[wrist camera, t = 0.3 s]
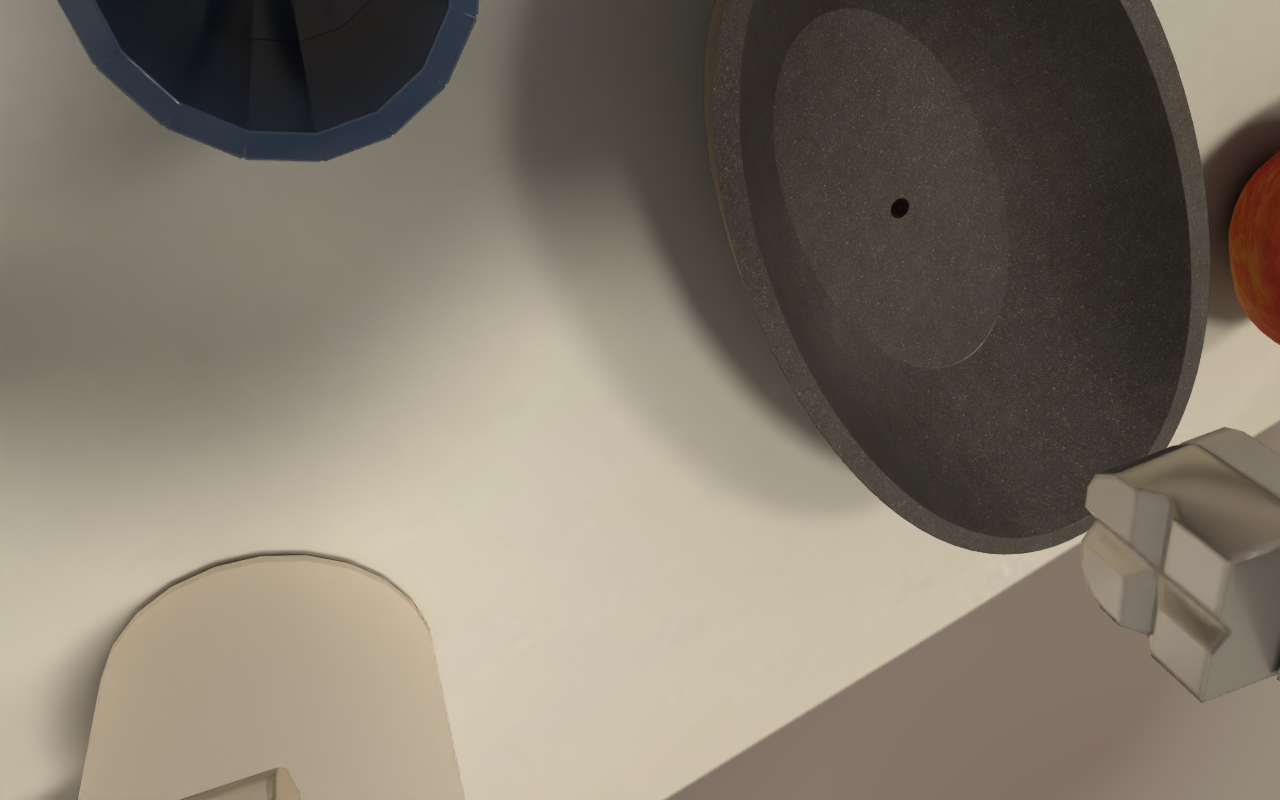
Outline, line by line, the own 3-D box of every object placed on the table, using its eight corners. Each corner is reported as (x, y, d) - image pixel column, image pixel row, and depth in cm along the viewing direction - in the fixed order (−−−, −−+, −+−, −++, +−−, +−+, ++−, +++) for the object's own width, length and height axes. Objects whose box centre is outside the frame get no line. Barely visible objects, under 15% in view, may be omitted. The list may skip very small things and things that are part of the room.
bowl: (849, 522, 37) (944, 633, 32) (506, -11, 25) (570, 32, 20) (1121, 327, 37) (1261, 408, 32) (909, -310, 25) (1081, -346, 19)
